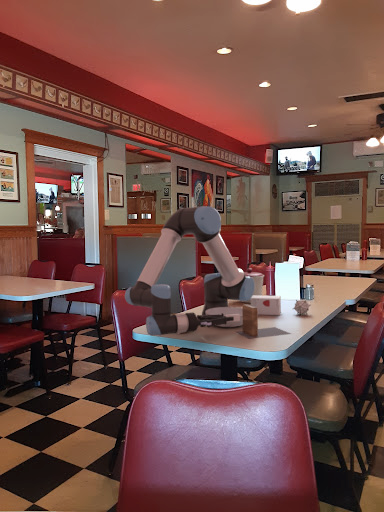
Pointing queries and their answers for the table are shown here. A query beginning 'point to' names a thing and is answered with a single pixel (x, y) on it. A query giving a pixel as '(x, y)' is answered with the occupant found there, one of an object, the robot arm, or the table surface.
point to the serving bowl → (227, 312)
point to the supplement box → (267, 304)
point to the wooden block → (250, 320)
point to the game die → (301, 307)
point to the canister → (255, 282)
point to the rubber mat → (265, 333)
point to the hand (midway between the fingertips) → (239, 317)
